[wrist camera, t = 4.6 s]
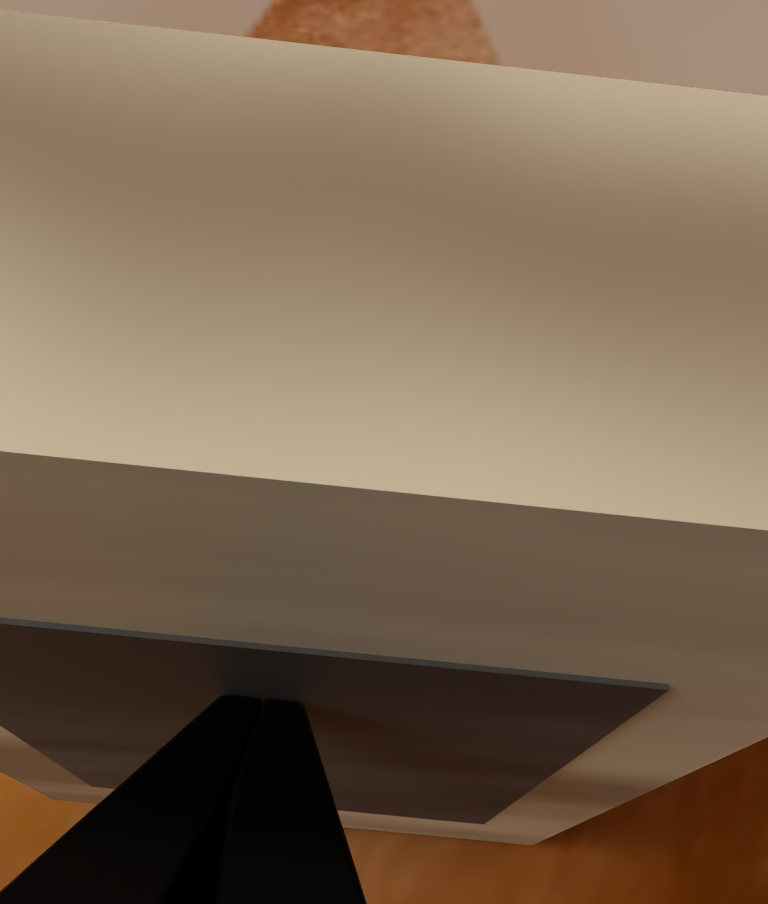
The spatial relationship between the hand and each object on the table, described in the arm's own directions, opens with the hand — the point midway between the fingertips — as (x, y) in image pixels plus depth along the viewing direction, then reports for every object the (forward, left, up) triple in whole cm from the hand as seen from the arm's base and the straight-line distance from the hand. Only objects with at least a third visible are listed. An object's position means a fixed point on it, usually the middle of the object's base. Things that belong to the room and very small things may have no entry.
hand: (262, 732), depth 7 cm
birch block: (+1, 0, -9) cm, 9 cm away
